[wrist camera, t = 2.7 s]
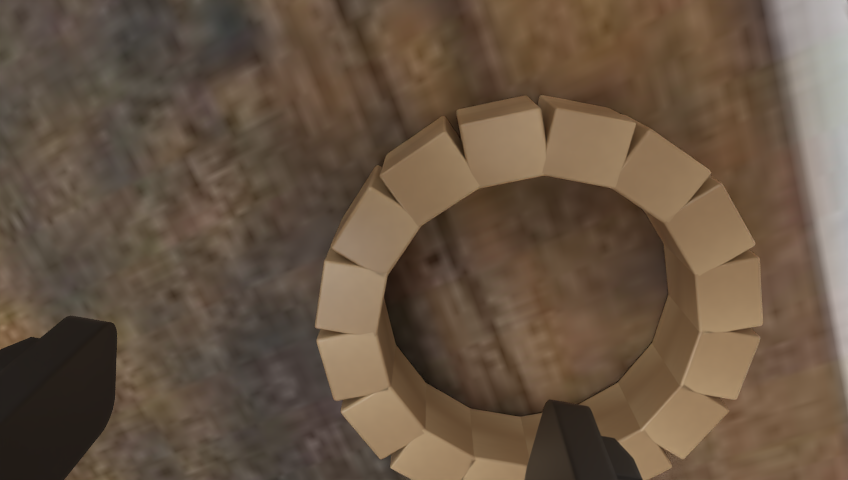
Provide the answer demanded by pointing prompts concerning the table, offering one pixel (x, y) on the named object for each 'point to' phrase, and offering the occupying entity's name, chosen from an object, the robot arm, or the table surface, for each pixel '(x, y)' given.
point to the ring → (514, 161)
